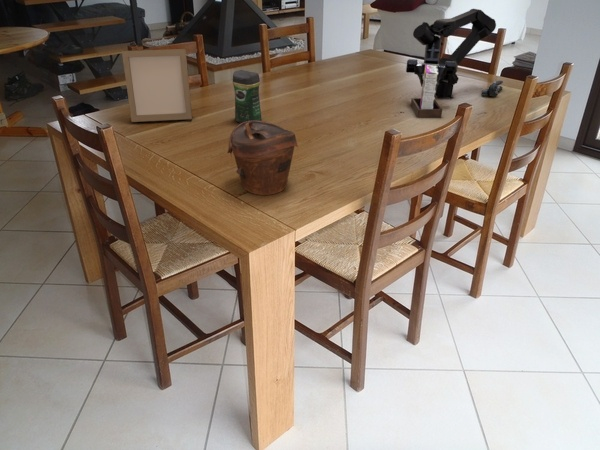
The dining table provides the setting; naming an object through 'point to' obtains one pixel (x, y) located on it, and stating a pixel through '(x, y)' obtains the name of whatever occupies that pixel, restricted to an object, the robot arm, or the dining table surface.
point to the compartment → (426, 113)
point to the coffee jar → (246, 96)
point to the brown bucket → (262, 155)
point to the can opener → (492, 89)
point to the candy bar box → (429, 87)
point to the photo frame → (157, 84)
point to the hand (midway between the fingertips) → (428, 86)
